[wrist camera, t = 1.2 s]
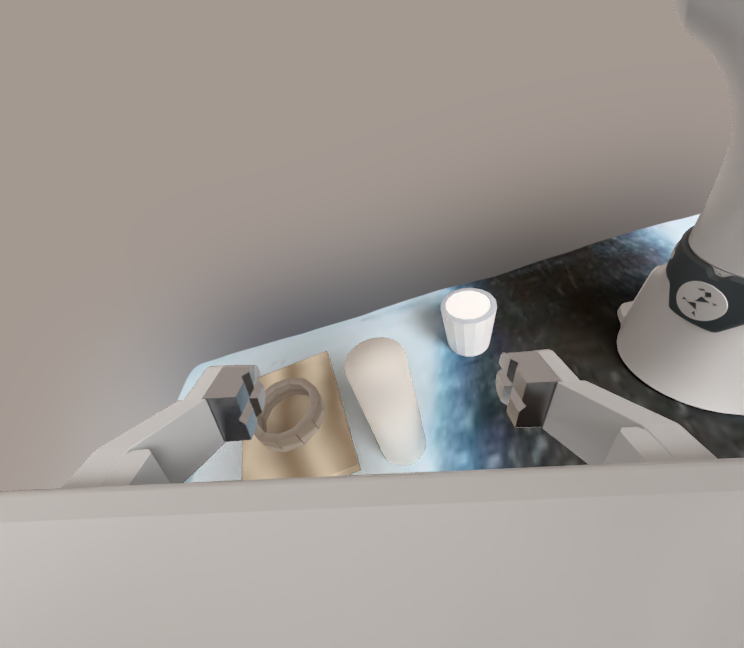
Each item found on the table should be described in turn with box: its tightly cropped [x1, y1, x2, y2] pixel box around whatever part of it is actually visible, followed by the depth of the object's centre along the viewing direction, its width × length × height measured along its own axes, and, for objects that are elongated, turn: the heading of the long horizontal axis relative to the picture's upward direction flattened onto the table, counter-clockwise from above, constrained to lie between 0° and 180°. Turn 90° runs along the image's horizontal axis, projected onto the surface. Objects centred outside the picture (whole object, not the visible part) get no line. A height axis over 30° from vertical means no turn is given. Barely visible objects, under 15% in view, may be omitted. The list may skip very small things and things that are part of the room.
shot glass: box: [441, 288, 497, 356], centre depth 41 cm, size 7×7×7 cm
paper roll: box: [344, 338, 426, 466], centre depth 30 cm, size 5×5×15 cm
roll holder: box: [242, 351, 361, 480], centre depth 39 cm, size 13×18×4 cm
